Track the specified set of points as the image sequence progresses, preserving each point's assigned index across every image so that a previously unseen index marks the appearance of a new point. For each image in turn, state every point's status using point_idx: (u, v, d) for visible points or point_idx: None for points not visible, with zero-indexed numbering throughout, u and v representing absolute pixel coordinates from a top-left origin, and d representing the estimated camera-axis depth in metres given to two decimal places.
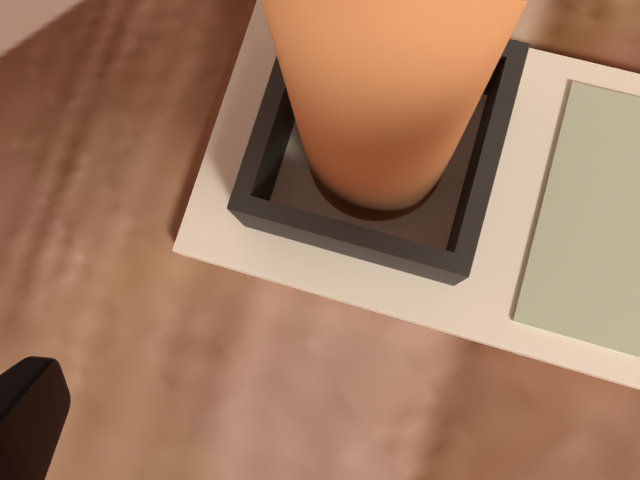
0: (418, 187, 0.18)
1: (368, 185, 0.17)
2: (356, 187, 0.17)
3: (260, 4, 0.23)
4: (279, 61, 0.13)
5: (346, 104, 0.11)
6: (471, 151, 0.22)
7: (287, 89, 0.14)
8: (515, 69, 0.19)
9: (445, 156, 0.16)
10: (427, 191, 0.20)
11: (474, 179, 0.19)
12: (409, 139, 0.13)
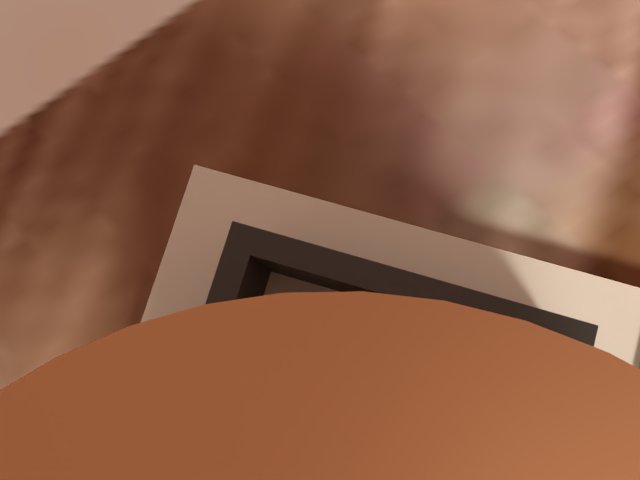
0: None
1: None
2: None
3: (191, 195, 0.16)
4: None
5: None
6: None
7: None
8: None
9: None
10: None
11: None
12: None
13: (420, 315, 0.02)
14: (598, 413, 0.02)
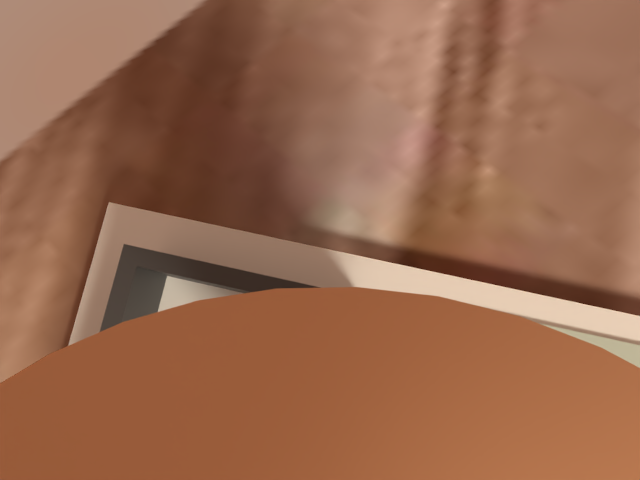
0: None
1: None
2: None
3: (107, 224, 0.22)
4: None
5: None
6: None
7: None
8: None
9: None
10: None
11: None
12: None
13: (414, 310, 0.02)
14: (591, 408, 0.02)
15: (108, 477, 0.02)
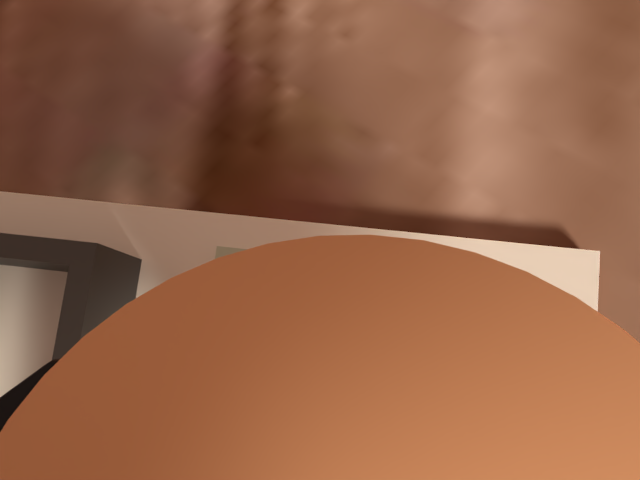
0: None
1: None
2: None
3: None
4: None
5: None
6: None
7: None
8: (80, 281, 0.14)
9: None
10: None
11: None
12: None
13: (408, 249, 0.04)
14: (520, 309, 0.04)
15: (212, 354, 0.04)
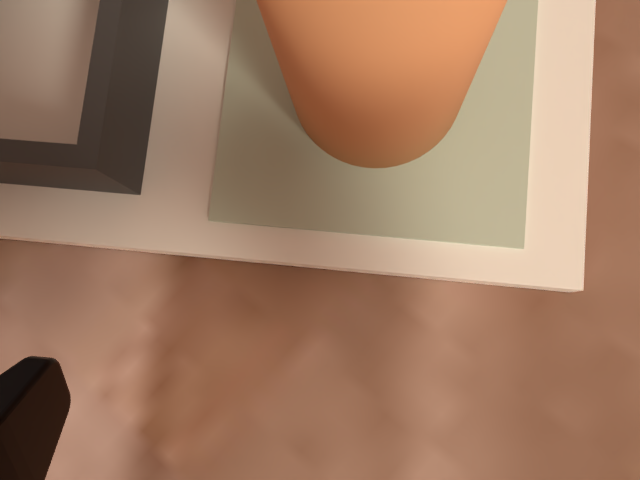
0: (431, 115, 0.14)
1: (363, 110, 0.12)
2: (348, 114, 0.13)
3: None
4: None
5: None
6: None
7: None
8: None
9: (468, 65, 0.12)
10: (442, 125, 0.15)
11: (92, 55, 0.15)
12: (419, 16, 0.09)
13: None
14: None
15: None
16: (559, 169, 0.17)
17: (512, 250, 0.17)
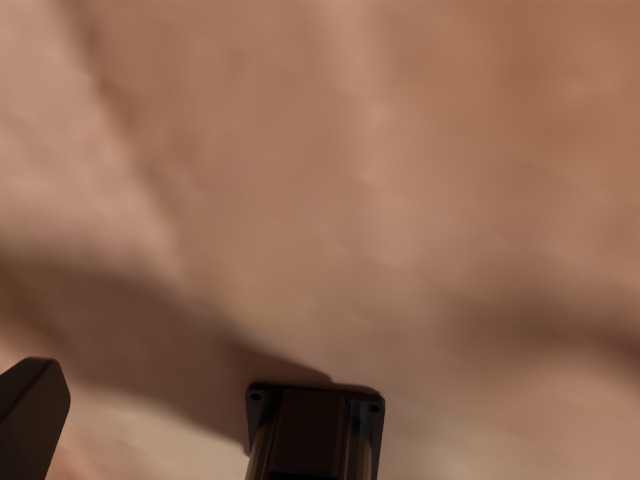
0: None
1: None
2: None
3: None
4: None
5: None
6: None
7: None
8: None
9: None
10: None
11: None
12: None
13: None
14: None
15: None
16: None
17: None
